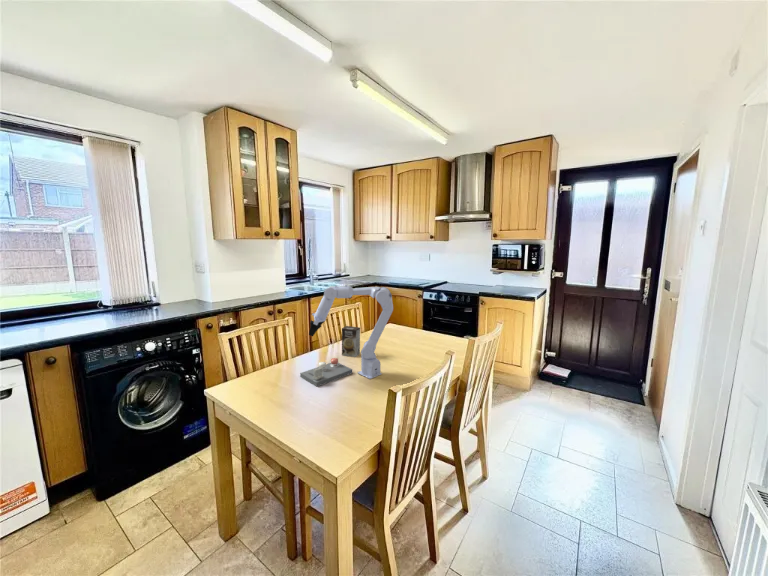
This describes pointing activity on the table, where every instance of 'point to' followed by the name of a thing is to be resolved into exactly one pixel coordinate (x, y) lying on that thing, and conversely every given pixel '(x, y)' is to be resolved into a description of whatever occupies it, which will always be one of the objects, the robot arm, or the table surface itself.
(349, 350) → the coffee box
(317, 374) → the grey square block
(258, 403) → the table surface
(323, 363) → the white button
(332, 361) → the red button
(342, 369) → the control panel
